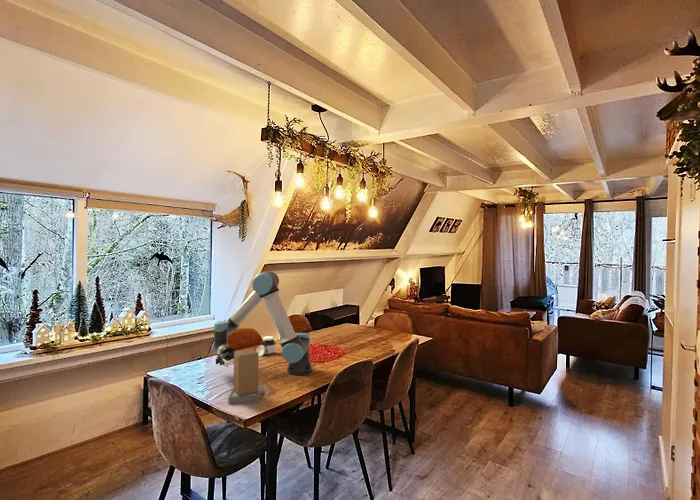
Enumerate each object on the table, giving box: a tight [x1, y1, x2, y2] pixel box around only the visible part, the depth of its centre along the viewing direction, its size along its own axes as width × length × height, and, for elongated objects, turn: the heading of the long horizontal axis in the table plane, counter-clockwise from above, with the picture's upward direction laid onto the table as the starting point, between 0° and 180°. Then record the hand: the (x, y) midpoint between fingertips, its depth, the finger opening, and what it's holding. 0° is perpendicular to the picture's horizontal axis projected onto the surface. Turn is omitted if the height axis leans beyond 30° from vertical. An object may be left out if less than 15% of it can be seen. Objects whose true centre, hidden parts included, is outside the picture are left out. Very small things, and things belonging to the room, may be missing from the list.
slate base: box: [227, 385, 263, 405], centre depth 191 cm, size 14×14×3 cm
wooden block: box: [233, 348, 260, 396], centre depth 190 cm, size 10×10×20 cm
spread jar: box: [255, 335, 277, 357], centre depth 264 cm, size 12×11×12 cm
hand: (240, 362), depth 197 cm, fingers open, 13 cm apart
